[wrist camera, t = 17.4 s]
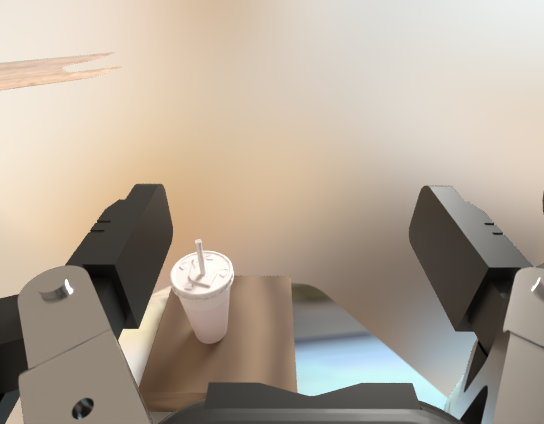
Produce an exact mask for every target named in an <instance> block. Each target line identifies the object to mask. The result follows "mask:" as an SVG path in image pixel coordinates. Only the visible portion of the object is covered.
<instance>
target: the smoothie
mask: <svg viewBox="0 0 544 424" xmlns="http://www.w3.org/2000/svg"><path fill="white" fill-rule="evenodd" d="M195 242H196V249H197V252H195V253H192V254H189V255H187V256H185V257H183V258H182V259H180V260H179V261H178V262H177V263H176V264H175V265H174V267H173V268H172V270H171V273H170V281H171V288H172V290H173V291H174V293H175V294H176V295H177V296H178V297H179V298H180V301H181V303H182V305H183V307H184V310H185V312H186V314H187V316H188V319H189V321H190V323H191V326H192V328H193V330H194V332H195V335H196V337H197V339H198V340H199V341H201V342H203V343H206V344H212V343H216V342H218V341H220V340H221V339H222V338H223V337H224V336H225V334H226V332H227V322H228V309H229V296H230V286H231V284H232V282H233V279H234V272H233V266H232V263H231V262H230V260H229V259H228V258H227V257H226V256H224V255H223V254H220V253H218V252H213V251H203V249H202V242H201V240H200V239H198V240H196V241H195Z"/></svg>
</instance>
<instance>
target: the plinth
mask: <svg viewBox="0 0 544 424" xmlns="http://www.w3.org/2000/svg"><path fill="white" fill-rule="evenodd" d="M209 382H258V383H262V384H266V385H270V386H273V387H277V388H281V389H284V390H288V391H291V392H295V393H297V380H296V363H295V346H294V329H293V311H292V294H291V278H290V276H234V279H233V282H232V284H231V286H230V296H229V309H228V322H227V332H226V334H225V336H224V337H223V338H222V339H221V340H220V341H218V342H216V343H212V344H206V343H203V342H201V341H199V340H198V339H197V337H196V335H195V332H194V330H193V328H192V326H191V323H190V321H189V319H188V316H187V314H186V312H185V310H184V307H183V305H182V303H181V301H180V298H179V297H178V296H177V295H176V294H175V293H174V291H173V290H172V288H171V291H170V294H169V297H168V300H167V303H166V306H165V310H164V313H163V316H162V319H161V322H160V325H159V328H158V331H157V334H156V337H155V340H154V343H153V346H152V349H151V352H150V355H149V359H148V362H147V365H146V368H145V371H144V374H143V377H142V380H141V383H140V386H139V391H140V394H141V396H142V398H143V401H144V403H145V405H146V408H147V410H148V411H177V410H179V409H181V408H182V407H184V406H186V405H188V404H191V403H193V402H196V401H198V400H202V399H205V398H206V396H207V389H208V383H209Z"/></svg>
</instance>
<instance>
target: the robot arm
mask: <svg viewBox="0 0 544 424" xmlns="http://www.w3.org/2000/svg"><path fill="white" fill-rule="evenodd" d="M543 212H544V194H543ZM90 231H91V232H90V233H88V234H87V236H86V237H85V238H84V240H83V241H82V242H81V244H80V245H79V247H78V248H77V249H76V251H75V252H74V253H73V255H72V256H71V258H70V259H69V260H68V262H67V263H66V265H65V266H60V267H56V268H53V269H50V270H47V271H45V272H43V273H41V274H39V275H38V276H36V277H35V278H33V279H32V280H31V281H29V282H28V283H27V284H26V285H25V286H24V288H23V289H22V290H21V292H20V294H18V295H13V296H9V297H5V298H0V424H5V423H6V421H7V419H8V417H9V415H10V413H11V411H12V410H13V408H14V406H15V404H16V402H17V400H18V399H19V397H20V398H21V405H22V413H23V420H24V424H153V421H152V419H151V417H150V414H149V412H148V410H147V408H146V405H145V403H144V401H143V398H142V396H141V394H140V391H139V389H138V386H137V384H136V382H135V379H134V377H133V375H132V372H131V370H130V368H129V365H128V363H127V360H126V358H125V356H124V353H123V351H122V349H121V346H120V344H119V342H118V339H119V337H120V334H121V332H122V330H123V329H139V326H140V324H141V321H142V318H143V316H144V313H145V311H146V308H147V305H148V303H149V300H150V297H151V295H152V292H153V289H154V287H155V284H156V282H157V279H158V276H159V274H160V271H161V269H162V266H163V263H164V261H165V258H166V255H167V253H168V250H169V247H170V245H171V242H172V237H173V226H172V221H171V216H170V212H169V206H168V202H167V197H166V192H165V189H164V186H163V185H162V184H136V185H135V186H134V187H133V189H132V190H131V192H130V193H129V195H128V196H127V198H126V199H125V200H118V201H117V202H115V203H114V204H112V205H111V206H109V207H108V208H107V209H105V211H104V212H103V213H102V215H101V216H100V217H99V219H98V220H97V223H95V224H94V226H93V227H92V228H91V230H90ZM409 239H410V243H411V246H412V248H413V250H414V252H415V253H416V256H417V258H418V259H419V261H420V263H421V265H422V267H423V269H424V271H425V273H426V275H427V277H428V279H429V281H430V283H431V285H432V287H433V289H434V291H435V293H436V294H437V296H438V298H439V300H440V302H441V304H442V306H443V308H444V310H445V312H446V314H447V316H448V318H449V320H450V322H451V324H452V326H453V327H454V329H455V331H467V332H469V331H470V332H471V331H472V332H475V334H476V336H477V340H476V341H475V343H474V345H473V348H472V351H471V354H470V358H469V361H468V364H467V368H466V371H465V372H464V374H463V376H462V377H461V379H460V381H459V382H458V384H457V385H456V387H455V388H454V390H453V392H452V393H451V395H450V396H449V398H448V400H447V402H446V404H445V411H443V410H441V409H439V408H437V407H435V406H432V405H430V404H427V403H425V402H422V401H418V399H417V396H416V393H415V390H414V387H413V384H412V383H360V384H357V385H353V386H349V387H346V388H342V389H339V390H335V391H332V392H328V393H324V394H321V395H317V396H306V395H302V394H299V393H295V392H291V391H288V390H284V389H281V388H277V387H273V386H270V385H266V384H262V383H258V382H209V383H208V389H207V396H206V398H205V399H202V400H198V401H196V402H193V403H191V404H188V405H186V406H184V407H182V408H181V409H179V410H177V411H175V412H173V413H172V414H171V415H169V416H168V417H166V418H165V419H163V420H162V421H161V422H160V423H158V424H544V264H541V265H539V266H536V267H535V268H534V267H533V266H532V265H531V263H530V262H529V261H528V260H527V259H526V258H525V257H524V256H523V255H522V253H521V252H520V251H519V250H518V249H517V248H516V247H515V246H514V245H513V243H512V242H511V241H510V240H509V239H508V238H507V237H506V236H505V235H503V232H502V231H501V230H500V229H499V228H498V227H497V226H496V225H494V222H493V221H492V220H491V219H490V218H489V217H488V216H487V214H486V213H485V212H484V211H482V210H481V209H479V208H477V207H476V206H474V205H473V204H471V203H469V202H465V201H464V199H463V198H462V197H461V196H460V195H459V193H458V192H457V191H456V190H455V189H454V188H453V187H452V186H424V187H423V188H422V189H421V191H420V194H419V197H418V200H417V203H416V207H415V210H414V214H413V217H412V220H411V224H410V227H409Z"/></svg>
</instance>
